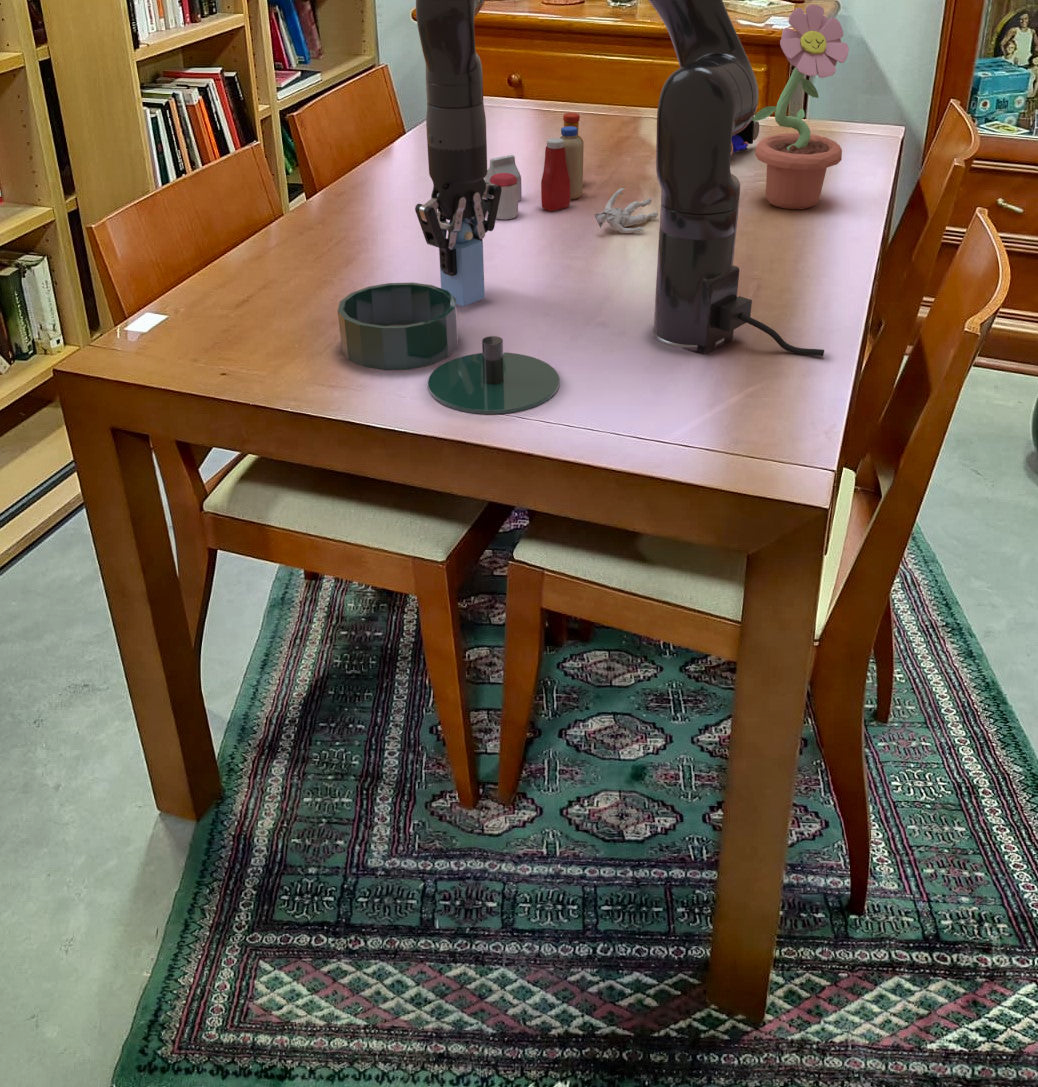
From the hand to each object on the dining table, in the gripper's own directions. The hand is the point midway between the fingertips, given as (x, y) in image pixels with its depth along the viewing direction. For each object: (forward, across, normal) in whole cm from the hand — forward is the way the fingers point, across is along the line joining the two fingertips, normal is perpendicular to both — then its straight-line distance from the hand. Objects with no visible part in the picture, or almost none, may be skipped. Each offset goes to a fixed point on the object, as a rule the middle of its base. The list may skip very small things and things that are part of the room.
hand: (462, 269), depth 152 cm
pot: (+5, -16, -5) cm, 18 cm away
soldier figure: (+5, +39, +3) cm, 39 cm away
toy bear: (+5, 0, 0) cm, 5 cm away
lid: (+4, -16, -22) cm, 27 cm away
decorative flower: (+5, +66, -10) cm, 67 cm away
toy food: (+5, +38, +23) cm, 45 cm away
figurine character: (+5, +83, +14) cm, 84 cm away
